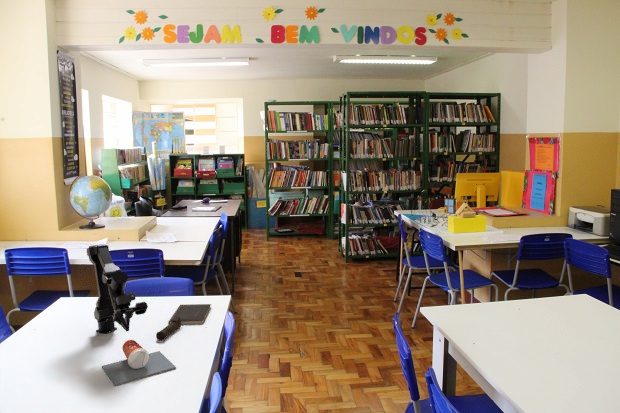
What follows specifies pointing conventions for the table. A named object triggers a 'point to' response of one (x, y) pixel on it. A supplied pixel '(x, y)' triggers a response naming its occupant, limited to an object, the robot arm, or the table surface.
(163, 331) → the brown wooden branch
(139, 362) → the paper cup
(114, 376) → the mat
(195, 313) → the hardcover book
